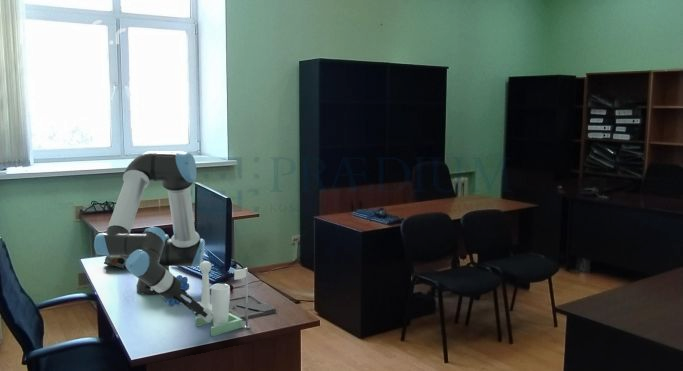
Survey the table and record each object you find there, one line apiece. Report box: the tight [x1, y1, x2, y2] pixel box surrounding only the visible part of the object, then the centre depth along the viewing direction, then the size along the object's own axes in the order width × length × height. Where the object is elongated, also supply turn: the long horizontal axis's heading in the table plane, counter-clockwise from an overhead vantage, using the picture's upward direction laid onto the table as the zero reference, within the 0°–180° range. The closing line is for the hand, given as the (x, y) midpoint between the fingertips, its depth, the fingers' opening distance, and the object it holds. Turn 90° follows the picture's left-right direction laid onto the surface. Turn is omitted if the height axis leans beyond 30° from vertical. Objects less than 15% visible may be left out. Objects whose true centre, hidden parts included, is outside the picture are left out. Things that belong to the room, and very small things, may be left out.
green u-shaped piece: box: [194, 313, 243, 337], centre depth 210 cm, size 12×12×3 cm
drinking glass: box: [210, 283, 231, 327], centre depth 209 cm, size 7×7×15 cm
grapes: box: [163, 274, 190, 307], centre depth 230 cm, size 12×7×12 cm, turn 143°
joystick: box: [193, 260, 212, 314], centre depth 222 cm, size 11×8×20 cm
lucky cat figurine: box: [103, 256, 129, 270], centre depth 278 cm, size 15×12×14 cm
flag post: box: [233, 267, 251, 330], centre depth 207 cm, size 2×6×22 cm, turn 133°
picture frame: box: [229, 293, 277, 320], centre depth 229 cm, size 16×2×21 cm
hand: (210, 319), depth 207 cm, fingers closed
